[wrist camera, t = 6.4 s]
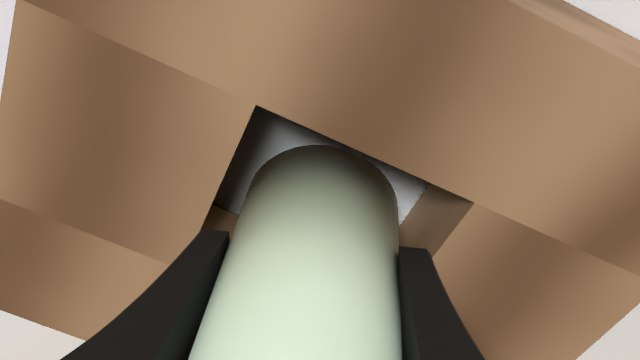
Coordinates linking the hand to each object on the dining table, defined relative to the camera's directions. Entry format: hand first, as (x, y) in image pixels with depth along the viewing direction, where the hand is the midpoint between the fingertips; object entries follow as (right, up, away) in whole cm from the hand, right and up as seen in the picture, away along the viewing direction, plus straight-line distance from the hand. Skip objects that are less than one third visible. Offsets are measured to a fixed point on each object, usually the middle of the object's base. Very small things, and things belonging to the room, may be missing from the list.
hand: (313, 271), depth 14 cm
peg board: (0, +2, +3) cm, 4 cm away
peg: (0, +1, +2) cm, 2 cm away
